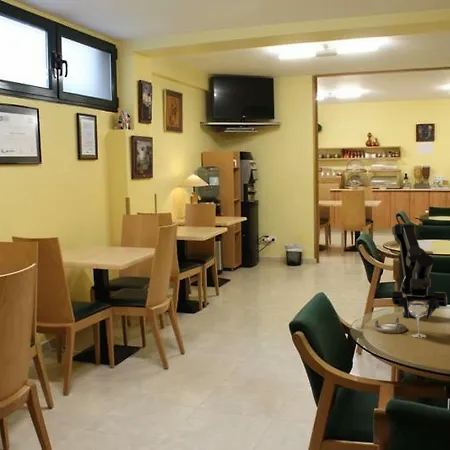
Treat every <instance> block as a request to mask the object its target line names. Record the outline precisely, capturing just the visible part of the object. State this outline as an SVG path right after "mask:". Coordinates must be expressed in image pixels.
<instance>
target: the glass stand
mask: <svg viewBox="0 0 450 450" xmlns="http://www.w3.org/2000/svg"><path fill="white" fill-rule="evenodd" d="M394 320H395V321H394V322H385V323H379V319H374V329H375V331H376V332H377V331H378V332H377V333H380V332H382V333H381V334H387V333H392V334H391V335H393V333H397V334H402V333H405V332H406V331H407V326H406V325H405V324H403V323H400V321H399V320H400V319H399V316H395V318H394ZM404 331H405V332H404ZM401 332H402V333H401Z"/></svg>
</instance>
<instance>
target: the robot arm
mask: <svg viewBox="0 0 450 450" xmlns="http://www.w3.org/2000/svg"><path fill="white" fill-rule="evenodd" d="M391 233H392V236H393V238H394V241H395V242H396V243H397V244H398V246H399V251H400V252H399V253H400V258H401V266H402V274H403V279H402V282H401V285H400V287H399V290H393V291H392V292H391V294H390V295H391V301H392V304H393V305H394V306H395V305H397V306H400V307H402V308H403V312H402V317H403V318H406V319H407V320H409V318H415V317H414V316H412V315H411V314H410V313H409V311H408V306H409V304H408V302H410V301H424V302H428V306H427V307H428V311H427V313H426V320H427V321H429V320H430V318H431V317H432V315H433V314H434V312H435V311H436V309H439V308H440V307H445V308H446V307H447V306H448V297H447V293H446V292H445V291H434V294H433V295H429V294H428V292H429V288H431V282H432V281H431V277H430V273H431V271H432V267H433V264H434V258H433V257H432V256H431V255H429V254H427V252H426V251H425V250H424V248H421V247H420V245H419V241H418V238H417V234H416V225H415V224H413V223H410V222H408V223H406V222H405V223H395V224H394V226H392V227H391Z"/></svg>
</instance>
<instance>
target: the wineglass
mask: <svg viewBox="0 0 450 450" xmlns="http://www.w3.org/2000/svg"><path fill="white" fill-rule="evenodd" d="M408 304H409V306H408V311H409V313H410V314H411V315H412V316H414V317H413V318H415V319H416V323H417V333H414V334H411V337H412V336H413V338H415V337H418V338H417V339H423V338H422V337H424V338H426V337H427V335H426V334H423V333H420V319H421V318H422V317H424V316H425V315H427V312H428V307H429V306H427V305H428V301H410V302H408Z"/></svg>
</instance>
